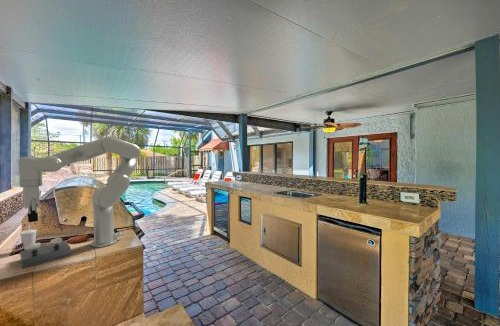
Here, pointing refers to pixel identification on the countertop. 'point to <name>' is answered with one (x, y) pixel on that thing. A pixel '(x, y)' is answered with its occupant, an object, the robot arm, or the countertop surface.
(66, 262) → the countertop surface
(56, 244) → the knob
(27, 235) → the smoothie
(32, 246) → the knob
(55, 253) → the housing
